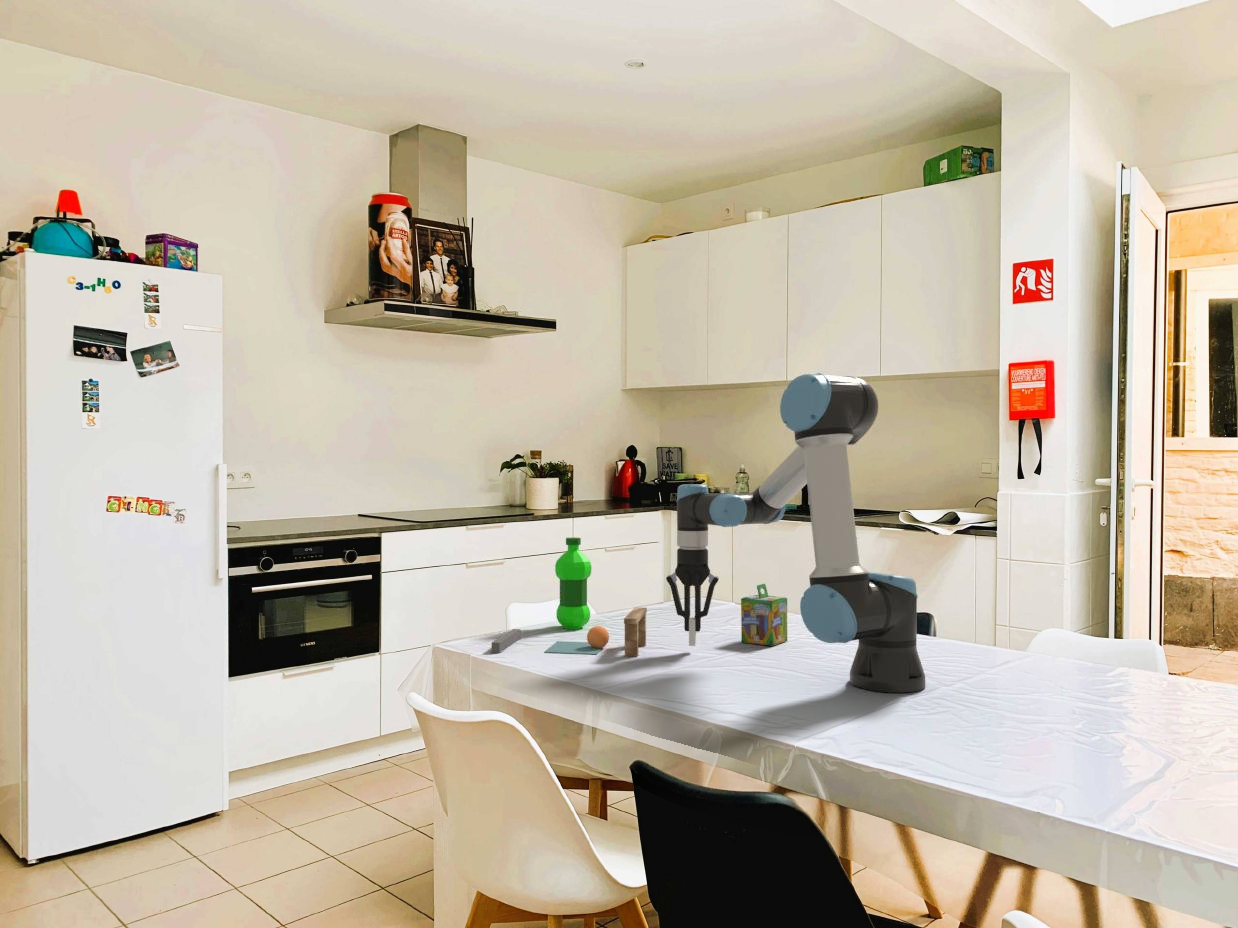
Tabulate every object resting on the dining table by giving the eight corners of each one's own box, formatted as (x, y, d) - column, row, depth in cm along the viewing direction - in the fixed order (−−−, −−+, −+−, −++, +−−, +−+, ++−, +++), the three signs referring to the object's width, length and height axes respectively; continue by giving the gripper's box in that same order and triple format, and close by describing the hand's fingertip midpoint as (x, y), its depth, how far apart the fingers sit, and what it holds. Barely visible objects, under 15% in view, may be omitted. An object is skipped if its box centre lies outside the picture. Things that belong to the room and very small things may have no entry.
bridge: (646, 643, 230) (646, 607, 230) (636, 657, 214) (636, 618, 214) (635, 643, 231) (635, 607, 231) (623, 657, 215) (623, 618, 215)
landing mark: (596, 654, 218) (596, 653, 218) (544, 652, 220) (544, 651, 220) (606, 643, 230) (606, 642, 230) (557, 641, 233) (557, 641, 233)
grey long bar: (499, 653, 219) (499, 642, 219) (491, 652, 220) (491, 642, 220) (520, 638, 237) (520, 629, 237) (513, 638, 237) (513, 628, 237)
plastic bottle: (598, 626, 255) (598, 537, 255) (577, 632, 246) (577, 540, 246) (569, 622, 260) (569, 535, 260) (547, 628, 251) (547, 538, 251)
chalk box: (772, 647, 226) (772, 588, 226) (739, 642, 232) (739, 585, 232) (789, 641, 234) (789, 584, 234) (757, 637, 239) (757, 581, 239)
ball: (583, 628, 223) (585, 650, 223) (605, 627, 222) (606, 650, 222) (589, 624, 228) (591, 646, 228) (610, 623, 227) (612, 645, 227)
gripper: (720, 546, 222) (720, 642, 223) (667, 545, 225) (667, 640, 225) (718, 549, 215) (718, 648, 215) (663, 548, 217) (663, 646, 217)
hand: (692, 644), depth 220 cm, fingers closed
